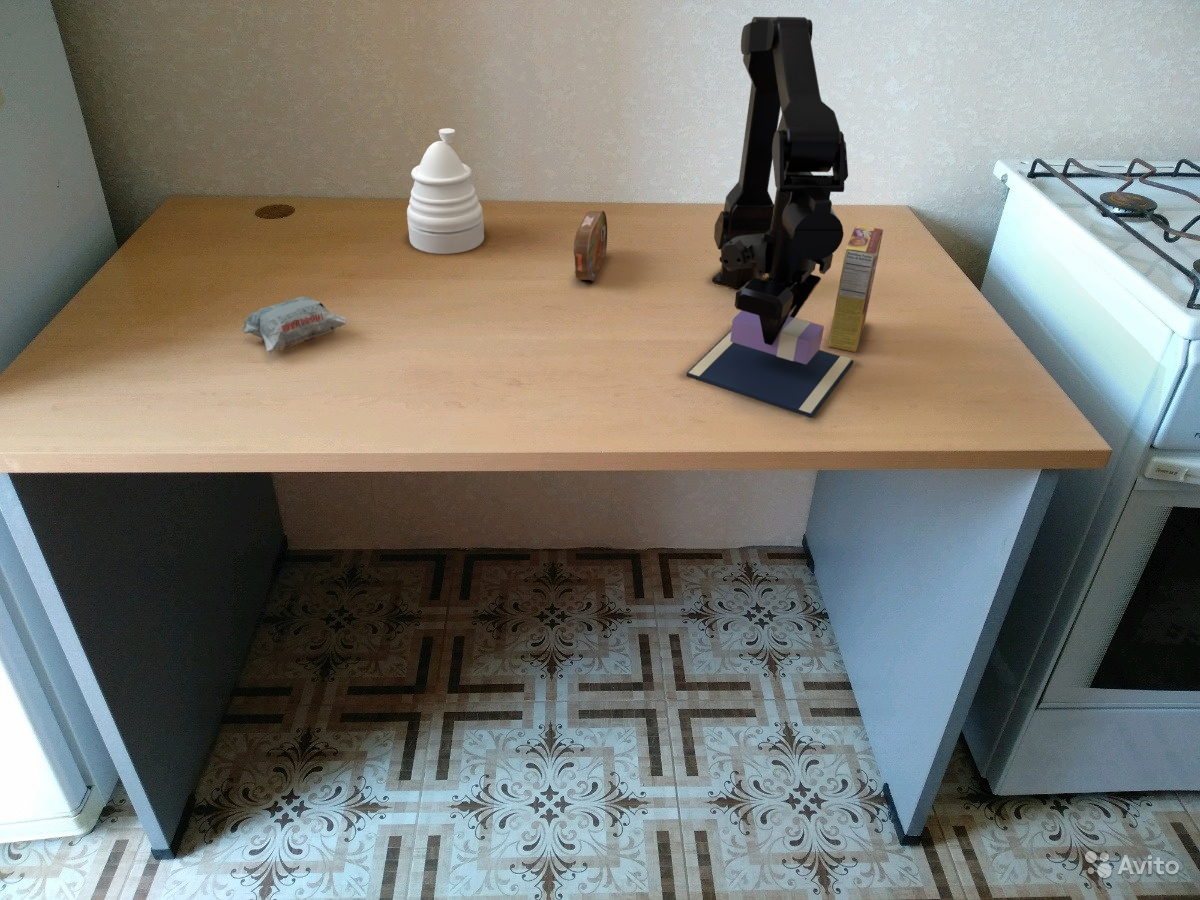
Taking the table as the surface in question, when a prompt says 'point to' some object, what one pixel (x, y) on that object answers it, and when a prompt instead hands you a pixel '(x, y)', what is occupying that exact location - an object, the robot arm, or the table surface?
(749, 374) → the towel
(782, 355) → the chocolate
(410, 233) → the honey pot
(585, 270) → the tin
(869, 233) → the candy box
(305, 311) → the packaged food
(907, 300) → the table surface
